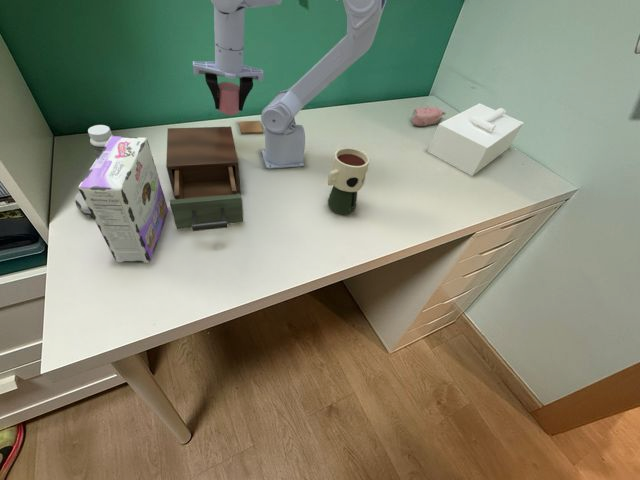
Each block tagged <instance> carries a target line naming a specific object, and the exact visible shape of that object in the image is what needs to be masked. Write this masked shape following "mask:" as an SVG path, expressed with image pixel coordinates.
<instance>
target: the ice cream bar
mask: <svg viewBox="0 0 640 480" xmlns="http://www.w3.org/2000/svg"><path fill="white" fill-rule="evenodd" d="M444 115H446V112H445V111H443V110H442V109H441V108H439V107H438V106H426V107H419V108H418V107H417V108H414V110H413V112H412V116H411V123H412V124H413V126H417V127H425V126H430V125H434V124H435V125H436V124H439V123H440V120H441V119H442V117H443V116H444Z"/></svg>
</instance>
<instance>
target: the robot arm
mask: <svg viewBox="0 0 640 480" xmlns="http://www.w3.org/2000/svg"><path fill="white" fill-rule="evenodd" d="M335 1H336V2H339V1H340V0H335ZM210 2H211V4H212V5H213V29H214V31H213V32H214V34H213V35H214V61H213V60H212V61H192V70H193V75H194V76H199V75H204V77H205V84H206V85H207V87H208V88H209V91H210V93H211V96H212V98H213V102H214V107H215V109H216V110H218V109H219V103H218V84H219V82H218V77H225V78H226V79H231V80H235V79H236V78H237V79H239V87H240V103H239V112H242V111H243V108H244V105H245V102H246V101H247V98H248V96H249V94H250V92H251V91H252V89H253V87H254V80H256V81H257V82H263V81H264V70H263V69H262V68H257V67H253V66H249V65H245V64H244V49H245V48H244V45H245V16H246V14H245V13H246V12H245V11H246V9H254V8H262V7H263V8H264V7H271V6H279V5H281V4H282V2H283V0H210ZM342 2H343V6H344V10H345V13H346V34H345V35H344V36H343V37H342V38H341V39H340V40H339V41H338V42H337V43H336V44H335V45H333V47H331V49H329V50H328V52H327V53H325V54H324V56H322V57H321V58H320V59H319V60H318V61H317V62H316V63H315V64H314V65H313V66H312V67H311V68H310V69H309V70H308V71H306V73H304V74H303V75H302V76H301V78H299V79H298V80H297V81H296V82H295V83H294V84H292V85H291V86H290V87H289V88H288V89H286V90H281V91H278V93H276V94H275V97H274V98H273V99H272V100H271V101H270V102H269V104H267V105H266V106H265V107H264V108H263V110H262V111H261V114H260V120H261V123H262V125H263V127H264V148H265V149H264V148H263V149H261V155H262V158H263V161H264V165H265V168H266V169H281V168H282V169H283V168H285V169H286V168H297V167H300V168H301V167H304V166H305V163H304V159H305V150H306V149H305V148H306V131H305V128H304V126H303V125H302V124H297V123H296V119H295V118H296V116H297V115H298V113H299V112H301V110H303V108H304V107H305V106H306V105H307V104H309V103H310V102H311V101H312V100H314V98H316V96H318V95H319V94H320V93H321V92H322V91H323V90H324V89H326V88H327V87H328V86H329V85H331V83H333V82H334V81H335V80H336V79H337V78H338V77H340V76H341V75H342V74H343V73H344V72H345V71H346V70H347V69H349V68H350V67H351V66H352V65H353V64H355V62H357V61H358V60H359V59H360V58H361V57H363V55H365V54H366V53H367V52H368V51H369V50H370V48H371V47H372V46H373V43H374V41H375V38H376V34H377V31H378V28H379V25H380V22H381V18H382V15H383V12H384V9H385V6H386V3H387V0H342Z"/></svg>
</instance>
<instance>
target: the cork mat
mask: <svg viewBox="0 0 640 480" xmlns="http://www.w3.org/2000/svg"><path fill="white" fill-rule="evenodd" d="M238 127H239V130H240V131H239V132H240V134H241V135H251V134H252V135H254V134H255V135H258V134H259V135H260V134H264V130H263V127H262V124H261V121H260V120H250V121H248V120H246V121H244V120H242V121H238Z"/></svg>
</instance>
